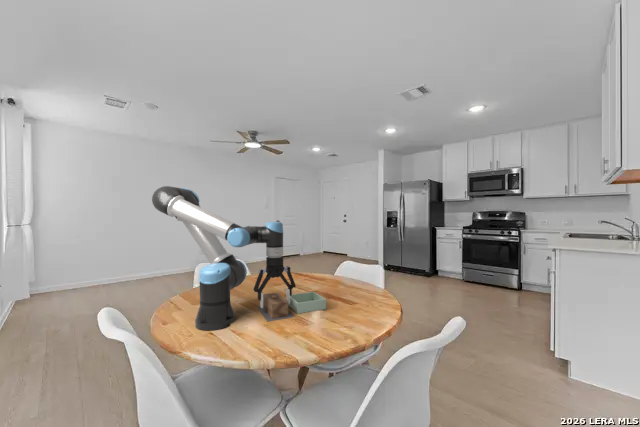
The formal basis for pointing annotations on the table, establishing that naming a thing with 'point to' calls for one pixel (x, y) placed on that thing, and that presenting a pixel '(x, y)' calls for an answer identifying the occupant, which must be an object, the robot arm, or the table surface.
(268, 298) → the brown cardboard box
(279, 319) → the mat
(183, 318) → the table surface
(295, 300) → the dish
